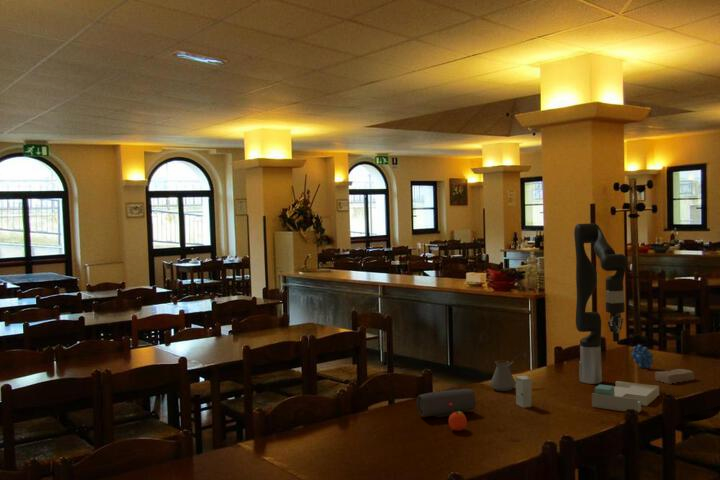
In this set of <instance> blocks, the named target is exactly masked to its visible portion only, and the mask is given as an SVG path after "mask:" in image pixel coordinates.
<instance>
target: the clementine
mask: <svg viewBox="0 0 720 480" xmlns="http://www.w3.org/2000/svg"><path fill="white" fill-rule="evenodd" d="M467 423H468V420H467V417H466V415H465V413H464V411H463V412H460V411H458V412H454V413H452V414H451V415H450V416H448V425H449V427H450V428H451V429H452V430H453V431H457V432H458V431H459V432H460V431H463V430H464V429H465V428H466V427H467Z"/></svg>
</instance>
